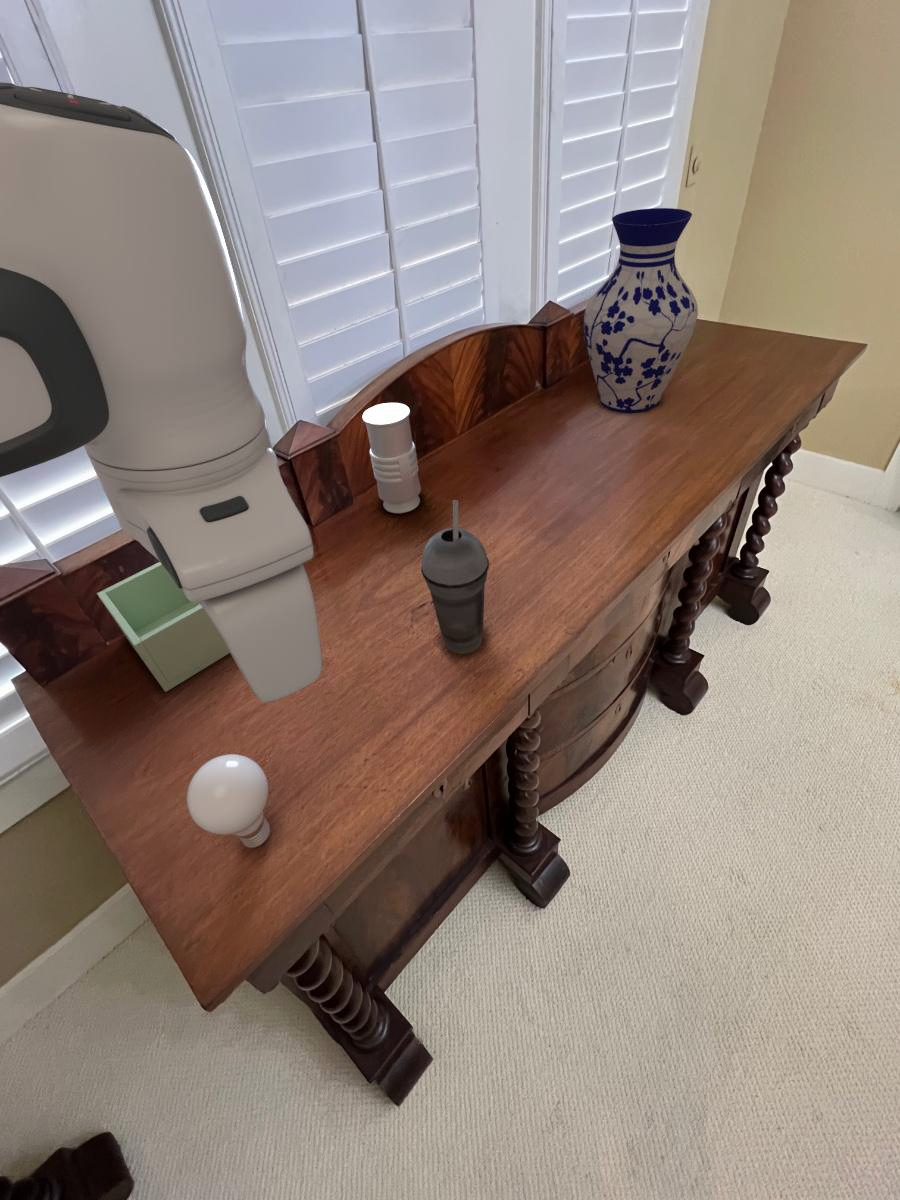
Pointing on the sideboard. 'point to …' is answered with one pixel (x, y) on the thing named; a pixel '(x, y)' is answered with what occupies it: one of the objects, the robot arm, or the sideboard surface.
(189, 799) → the lightbulb
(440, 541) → the beverage cup
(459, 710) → the sideboard surface
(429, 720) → the sideboard surface
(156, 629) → the bin
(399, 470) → the white ribbed cylinder
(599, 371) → the vase
